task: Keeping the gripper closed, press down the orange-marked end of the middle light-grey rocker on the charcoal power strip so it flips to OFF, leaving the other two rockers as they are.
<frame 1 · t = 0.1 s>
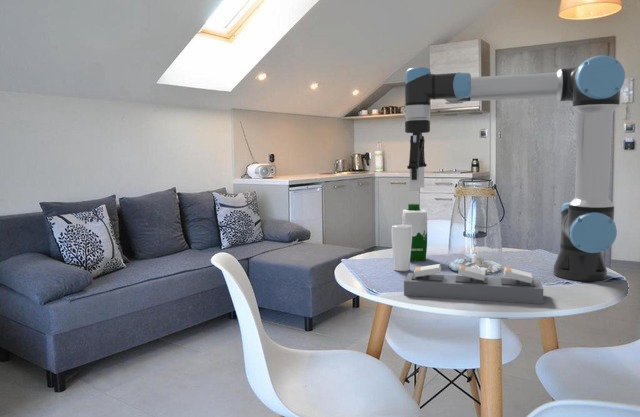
hand: (417, 189, 166), 28 cm above the table, fingers open, 13 cm apart
drinking glass: (401, 270, 179), on the table
rocker left: (427, 270, 152), point 6 cm above the table, hinge at 12.0°
milk carton: (414, 259, 196), on the table
rocker middle: (471, 272, 148), point 6 cm above the table, hinge at -12.0°
rocker right: (517, 274, 145), point 6 cm above the table, hinge at -12.0°
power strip: (471, 294, 149), on the table
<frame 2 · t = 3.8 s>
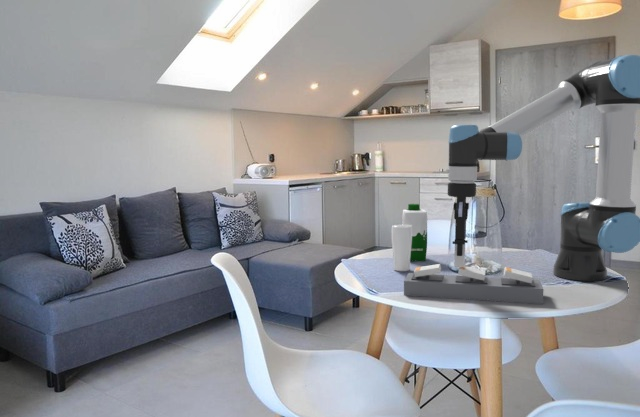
hand: (459, 266, 149), 8 cm above the table, fingers closed
rocker middle: (471, 272, 148), point 6 cm above the table, hinge at -11.3°, touching gripper
everything else where it was.
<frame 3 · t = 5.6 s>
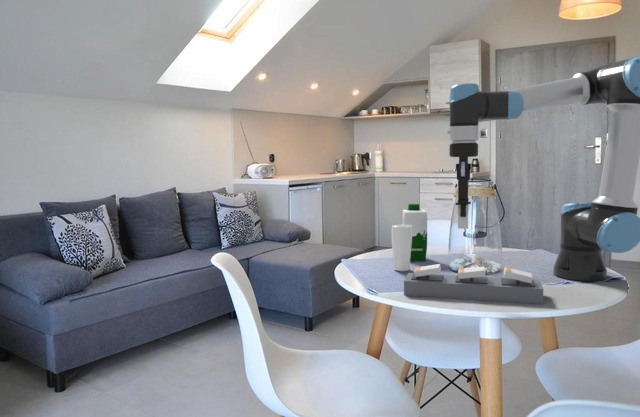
hand: (463, 228, 148), 18 cm above the table, fingers closed
rocker middle: (471, 272, 148), point 6 cm above the table, hinge at 9.7°
everything else where it was.
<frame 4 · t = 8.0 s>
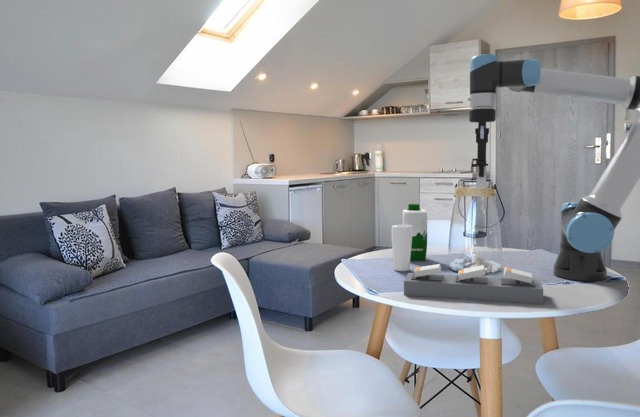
hand: (481, 187, 162), 28 cm above the table, fingers closed
rocker middle: (471, 272, 148), point 6 cm above the table, hinge at 16.1°
everything else where it was.
at the end: rocker middle at +16° (first picture: -12°); rocker right at -12° (first picture: -12°); rocker left at +12° (first picture: +12°) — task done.
